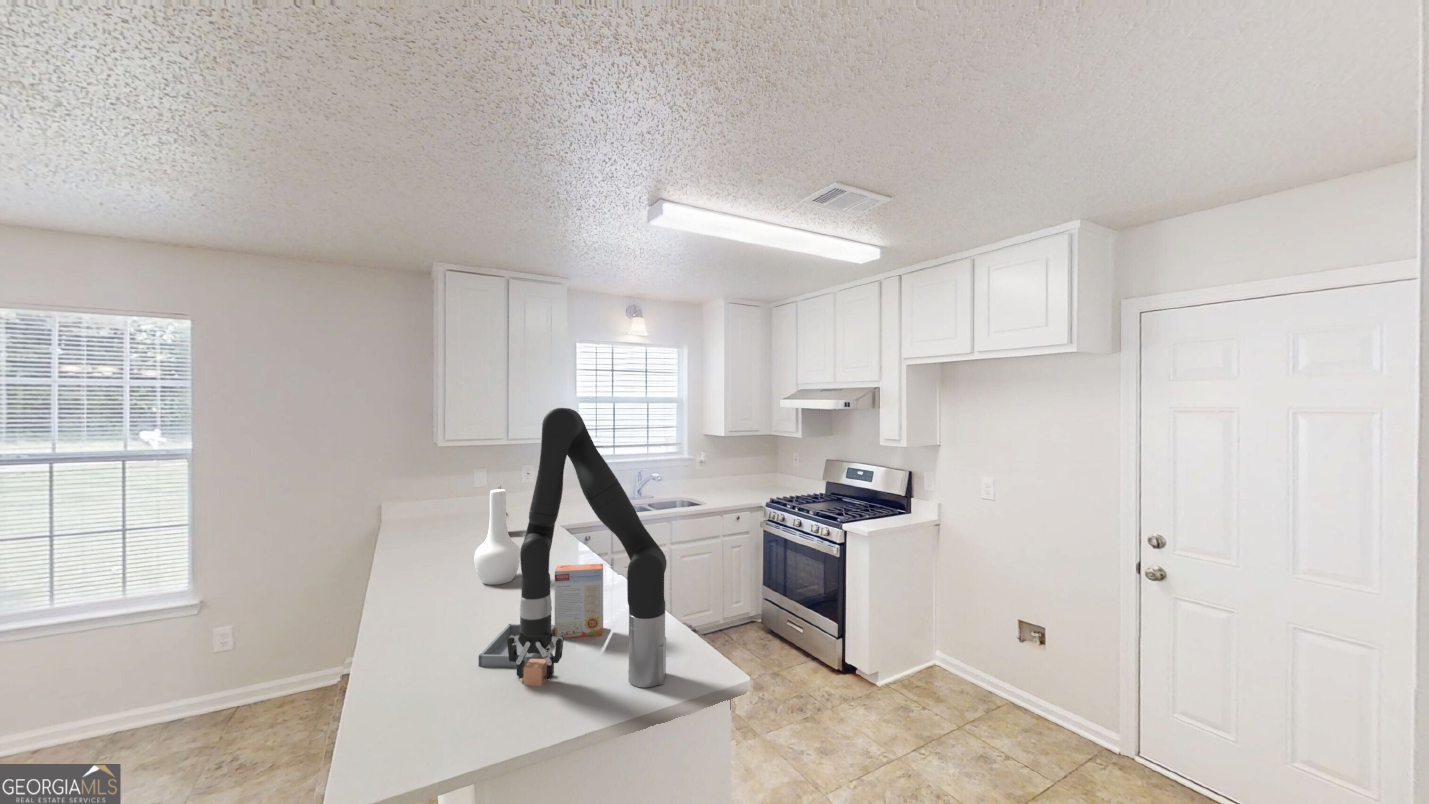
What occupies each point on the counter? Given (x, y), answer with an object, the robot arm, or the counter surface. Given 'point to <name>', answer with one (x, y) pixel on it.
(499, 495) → the vase
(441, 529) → the counter surface
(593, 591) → the cracker box
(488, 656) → the slate tray
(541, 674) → the terracotta cube
